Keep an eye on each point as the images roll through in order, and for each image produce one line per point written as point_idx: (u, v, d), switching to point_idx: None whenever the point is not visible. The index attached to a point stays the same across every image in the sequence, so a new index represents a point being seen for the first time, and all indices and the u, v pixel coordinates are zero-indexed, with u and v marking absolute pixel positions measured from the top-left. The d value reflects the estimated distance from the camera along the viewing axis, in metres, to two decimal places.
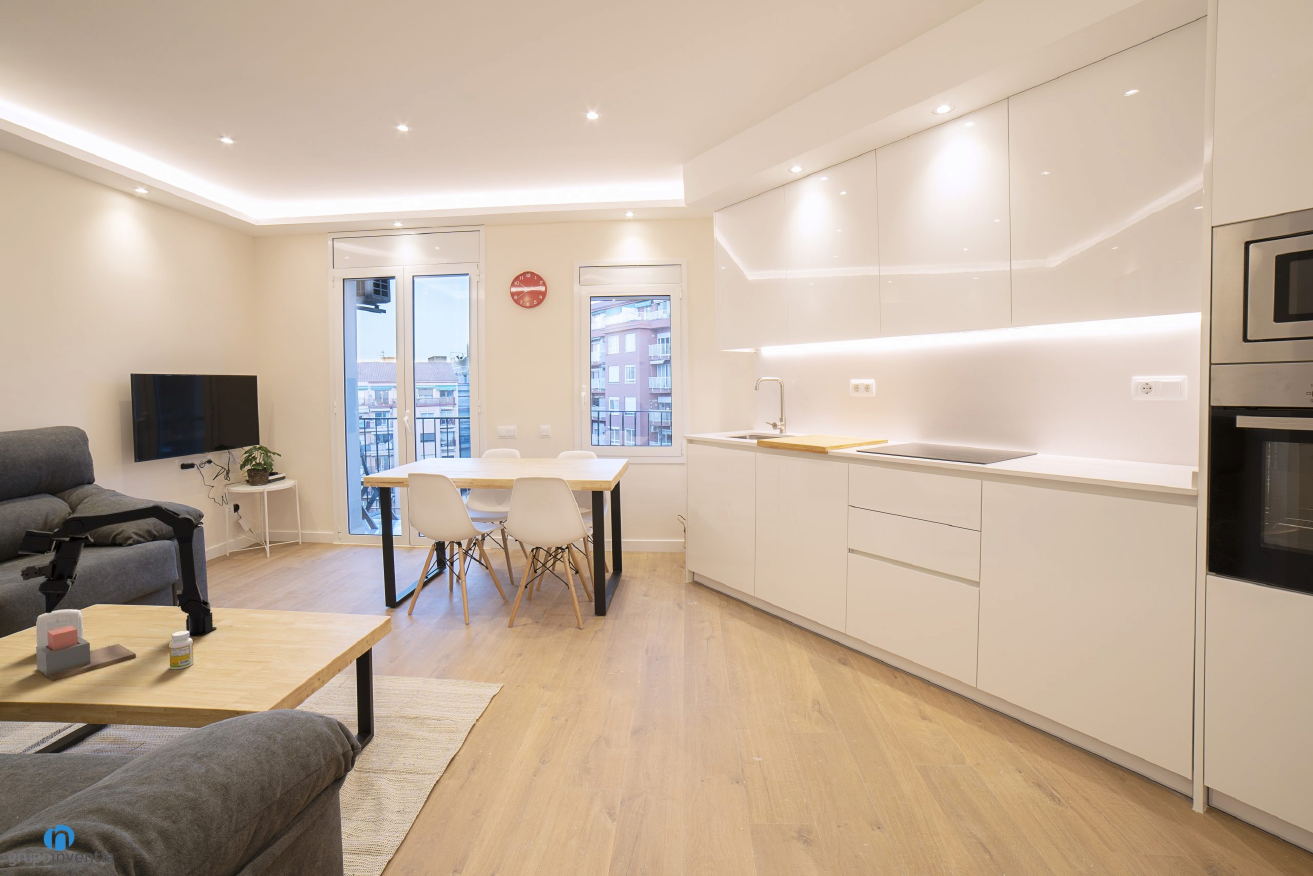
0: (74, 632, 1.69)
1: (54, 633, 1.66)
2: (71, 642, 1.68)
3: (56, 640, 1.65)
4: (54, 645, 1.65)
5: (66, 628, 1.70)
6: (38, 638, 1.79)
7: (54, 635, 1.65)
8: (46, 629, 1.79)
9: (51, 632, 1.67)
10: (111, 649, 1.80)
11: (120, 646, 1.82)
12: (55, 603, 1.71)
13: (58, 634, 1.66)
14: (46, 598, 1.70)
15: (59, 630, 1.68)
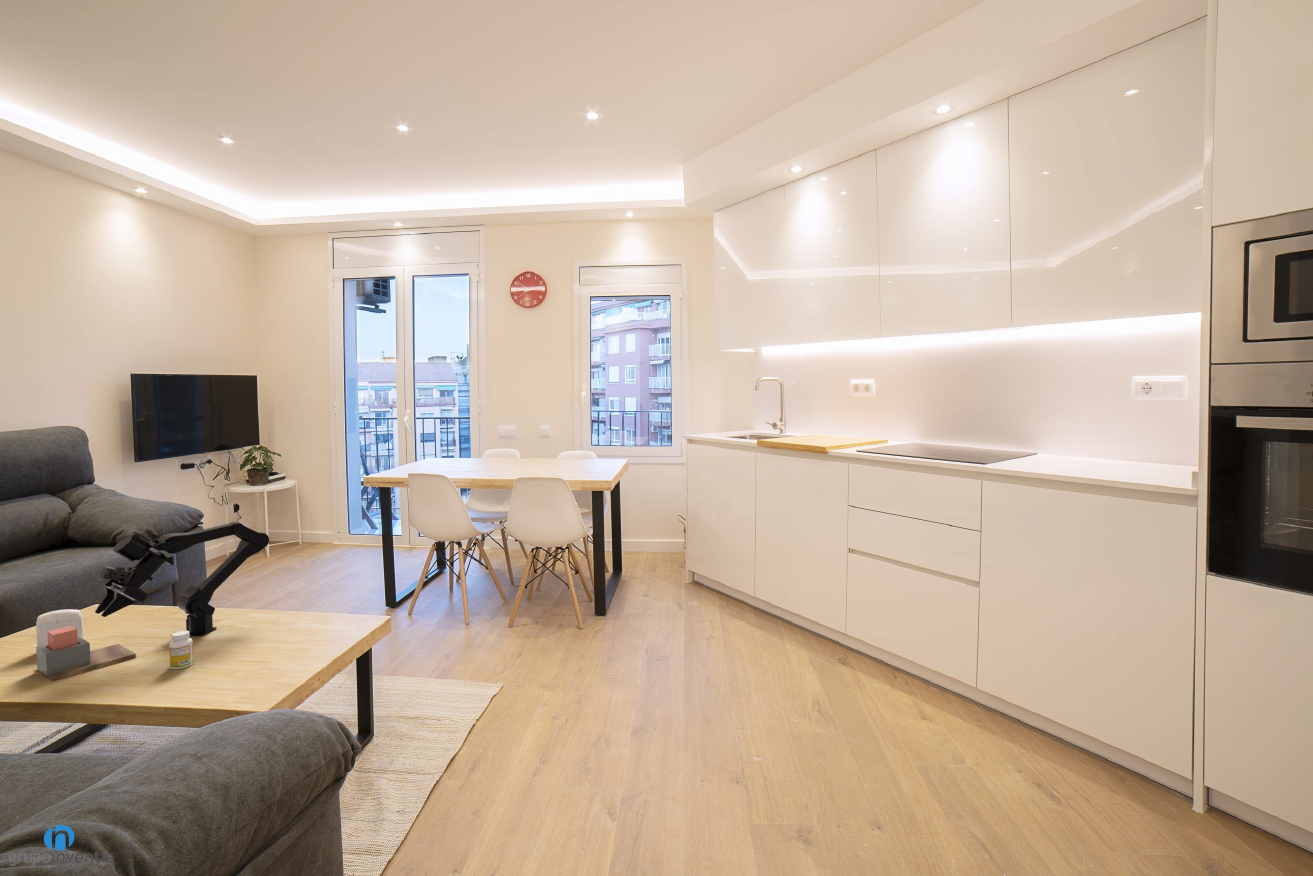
0: (74, 632, 1.69)
1: (54, 633, 1.66)
2: (71, 642, 1.68)
3: (56, 640, 1.65)
4: (54, 645, 1.65)
5: (66, 628, 1.70)
6: (38, 638, 1.79)
7: (54, 635, 1.65)
8: (46, 629, 1.79)
9: (51, 632, 1.67)
10: (111, 649, 1.80)
11: (120, 646, 1.82)
12: (116, 609, 1.76)
13: (58, 634, 1.66)
14: (114, 601, 1.75)
15: (59, 630, 1.68)
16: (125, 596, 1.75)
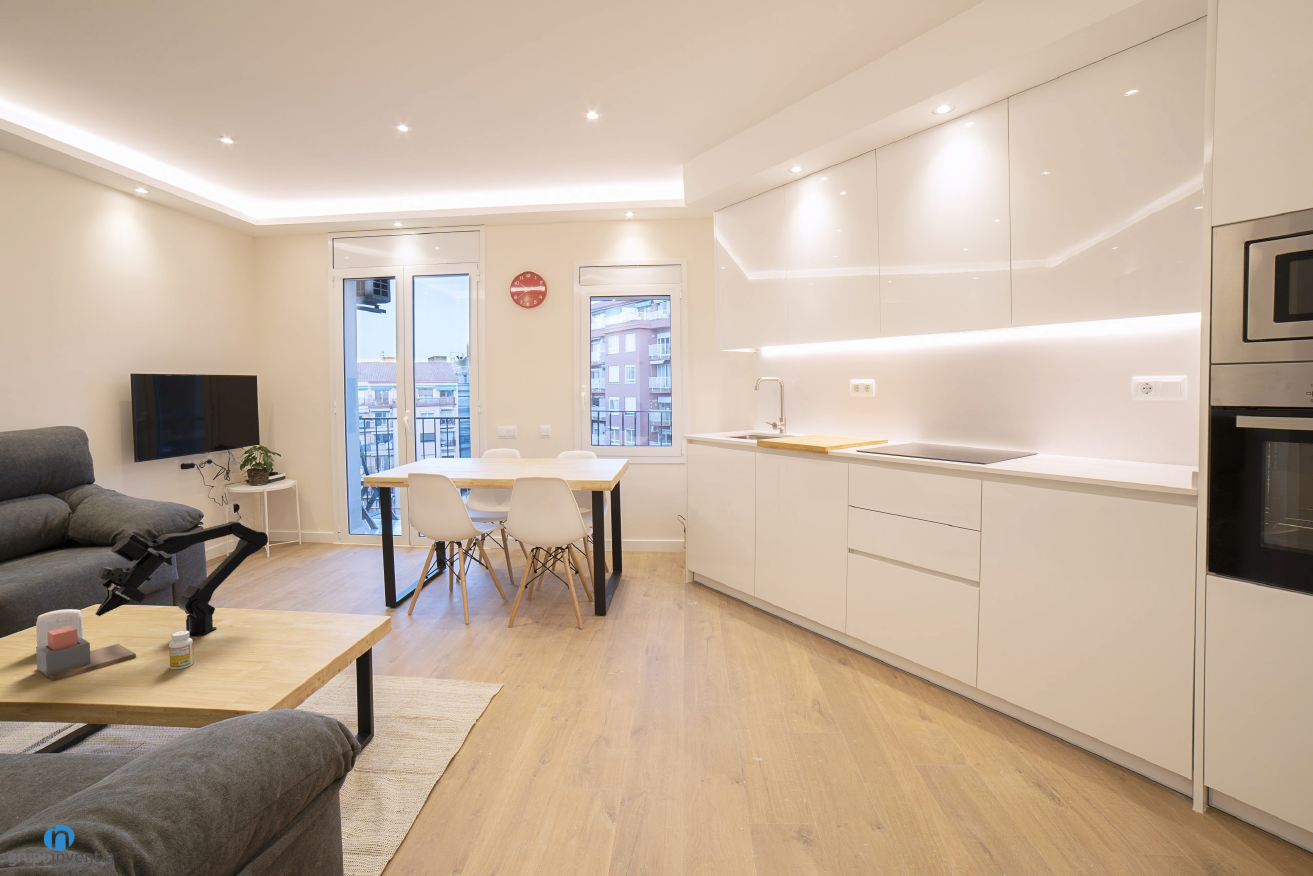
0: (74, 632, 1.69)
1: (54, 633, 1.66)
2: (71, 642, 1.68)
3: (56, 640, 1.65)
4: (54, 645, 1.65)
5: (66, 628, 1.70)
6: (38, 638, 1.79)
7: (54, 635, 1.65)
8: (46, 629, 1.79)
9: (51, 632, 1.67)
10: (111, 649, 1.80)
11: (120, 646, 1.82)
12: (111, 608, 1.76)
13: (58, 634, 1.66)
14: (109, 600, 1.75)
15: (59, 630, 1.68)
16: (120, 595, 1.76)
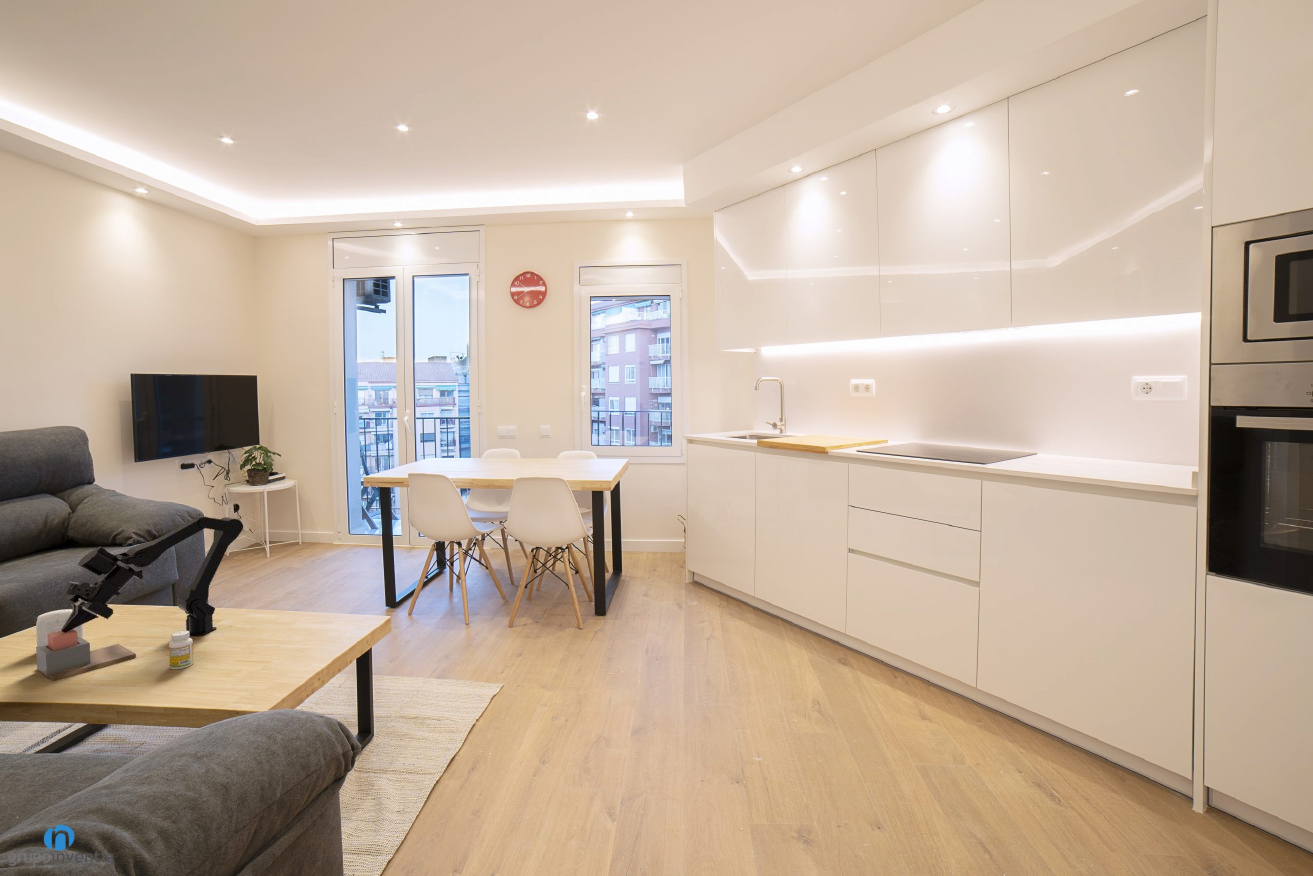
0: (74, 635, 1.69)
1: (54, 636, 1.66)
2: (71, 645, 1.68)
3: (56, 642, 1.65)
4: (54, 648, 1.65)
5: None
6: (38, 638, 1.79)
7: (54, 638, 1.65)
8: (46, 629, 1.79)
9: (51, 635, 1.67)
10: (111, 649, 1.80)
11: (120, 646, 1.82)
12: (77, 624, 1.70)
13: (58, 637, 1.66)
14: (75, 616, 1.69)
15: (59, 633, 1.68)
16: (87, 611, 1.70)
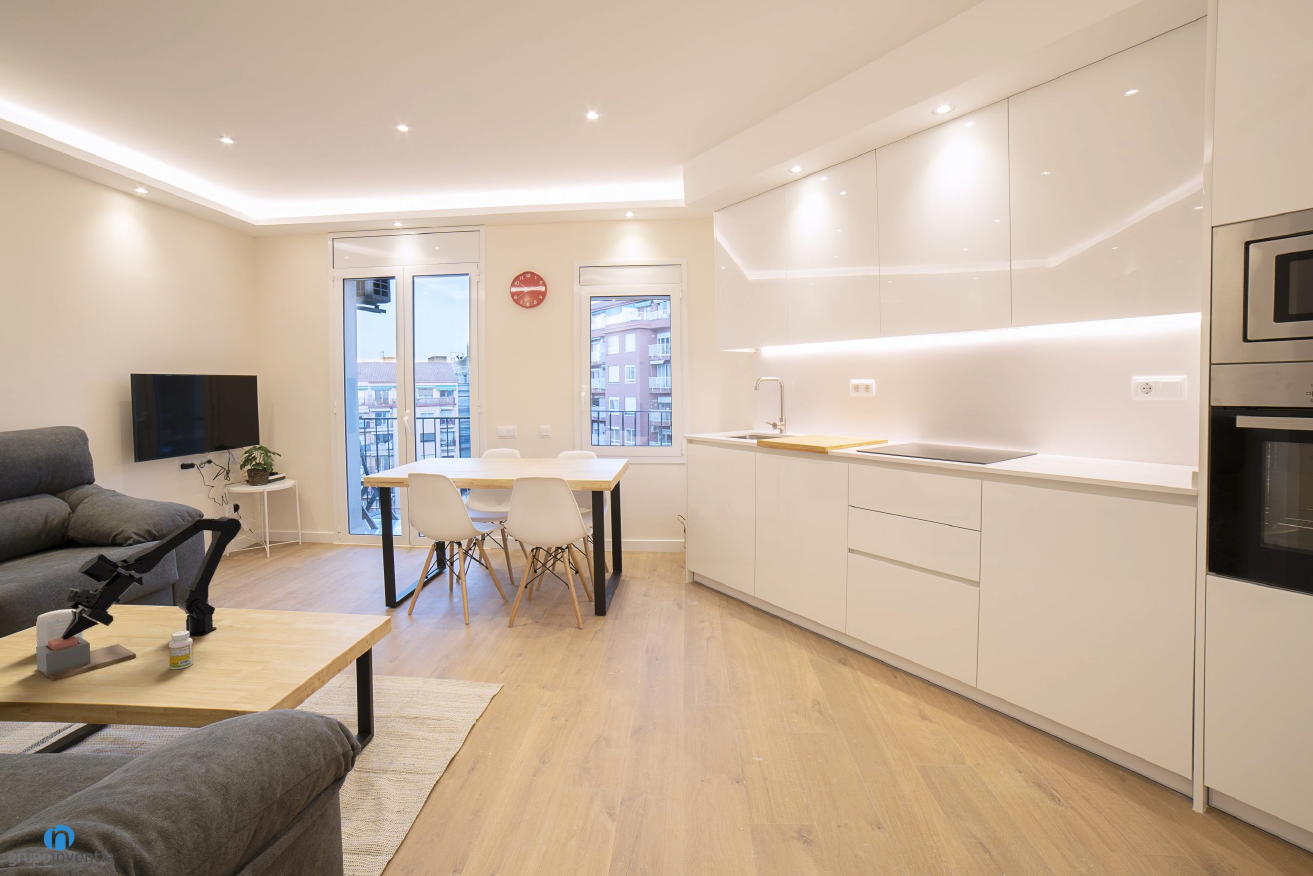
0: (74, 642, 1.69)
1: (55, 643, 1.66)
2: None
3: None
4: None
5: None
6: (38, 638, 1.79)
7: (54, 645, 1.65)
8: (46, 629, 1.79)
9: (51, 642, 1.67)
10: (111, 649, 1.80)
11: (120, 646, 1.82)
12: (77, 631, 1.70)
13: (58, 644, 1.66)
14: (76, 623, 1.69)
15: (59, 640, 1.68)
16: (87, 618, 1.70)
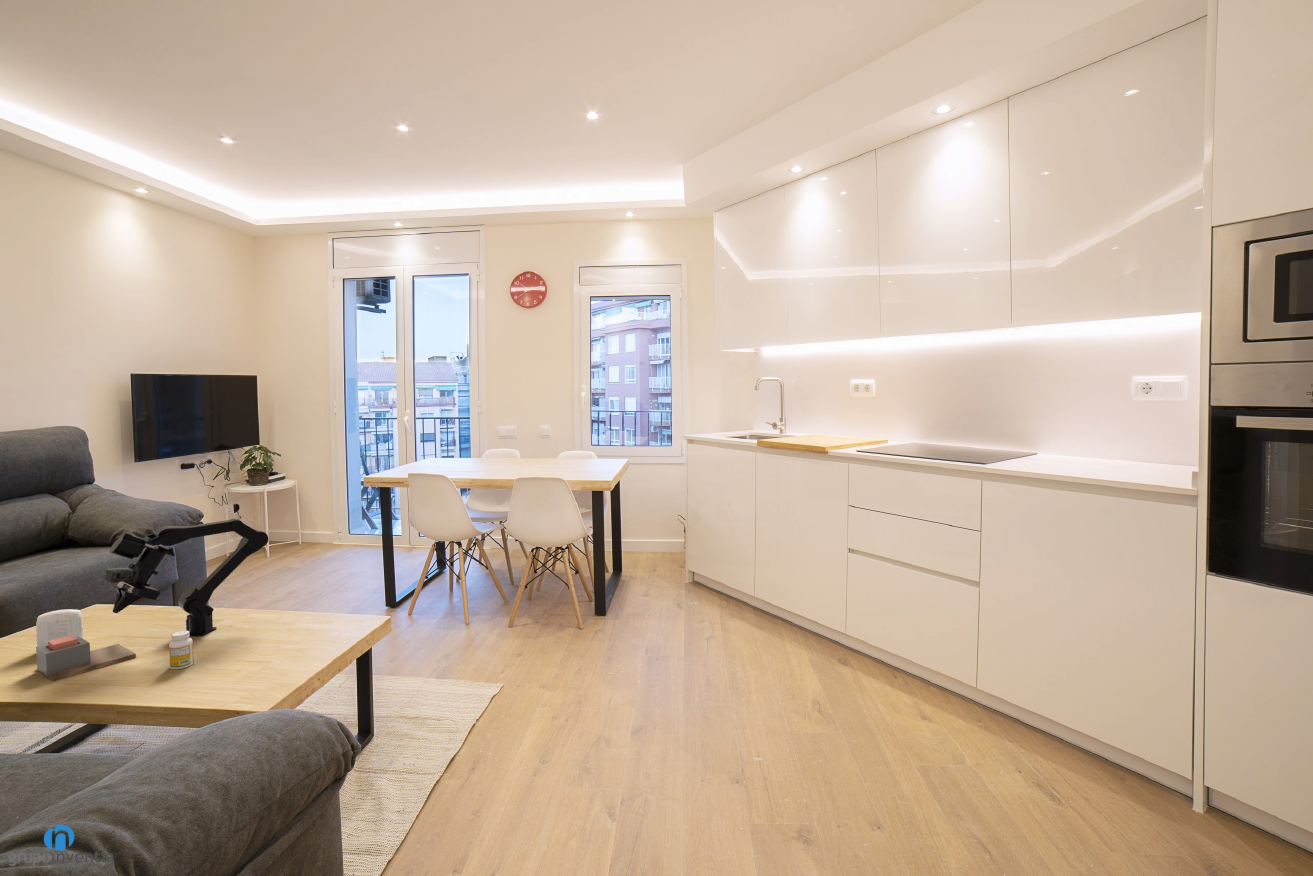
0: (74, 642, 1.69)
1: (55, 643, 1.66)
2: None
3: None
4: None
5: (66, 638, 1.70)
6: (38, 638, 1.79)
7: (54, 645, 1.65)
8: (46, 629, 1.79)
9: (52, 642, 1.67)
10: (111, 649, 1.80)
11: (120, 646, 1.82)
12: (126, 604, 1.82)
13: (58, 644, 1.66)
14: (123, 599, 1.80)
15: (59, 640, 1.68)
16: (133, 593, 1.81)
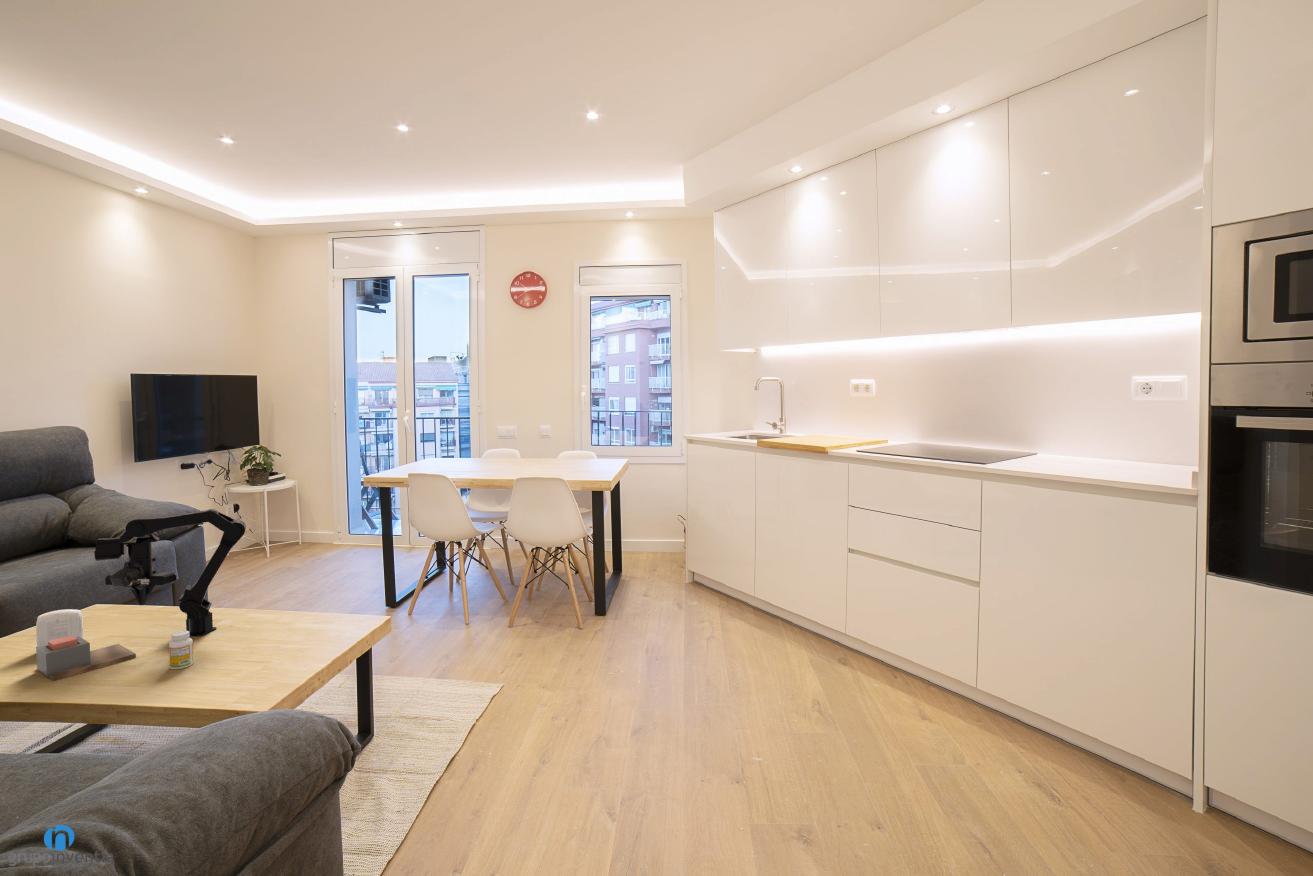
0: (74, 642, 1.69)
1: (55, 643, 1.66)
2: None
3: None
4: None
5: (66, 638, 1.70)
6: (38, 638, 1.79)
7: (54, 645, 1.65)
8: (46, 629, 1.79)
9: (52, 642, 1.67)
10: (111, 649, 1.80)
11: (120, 646, 1.82)
12: (148, 594, 1.89)
13: (58, 644, 1.66)
14: (143, 591, 1.87)
15: (59, 640, 1.68)
16: (150, 584, 1.87)
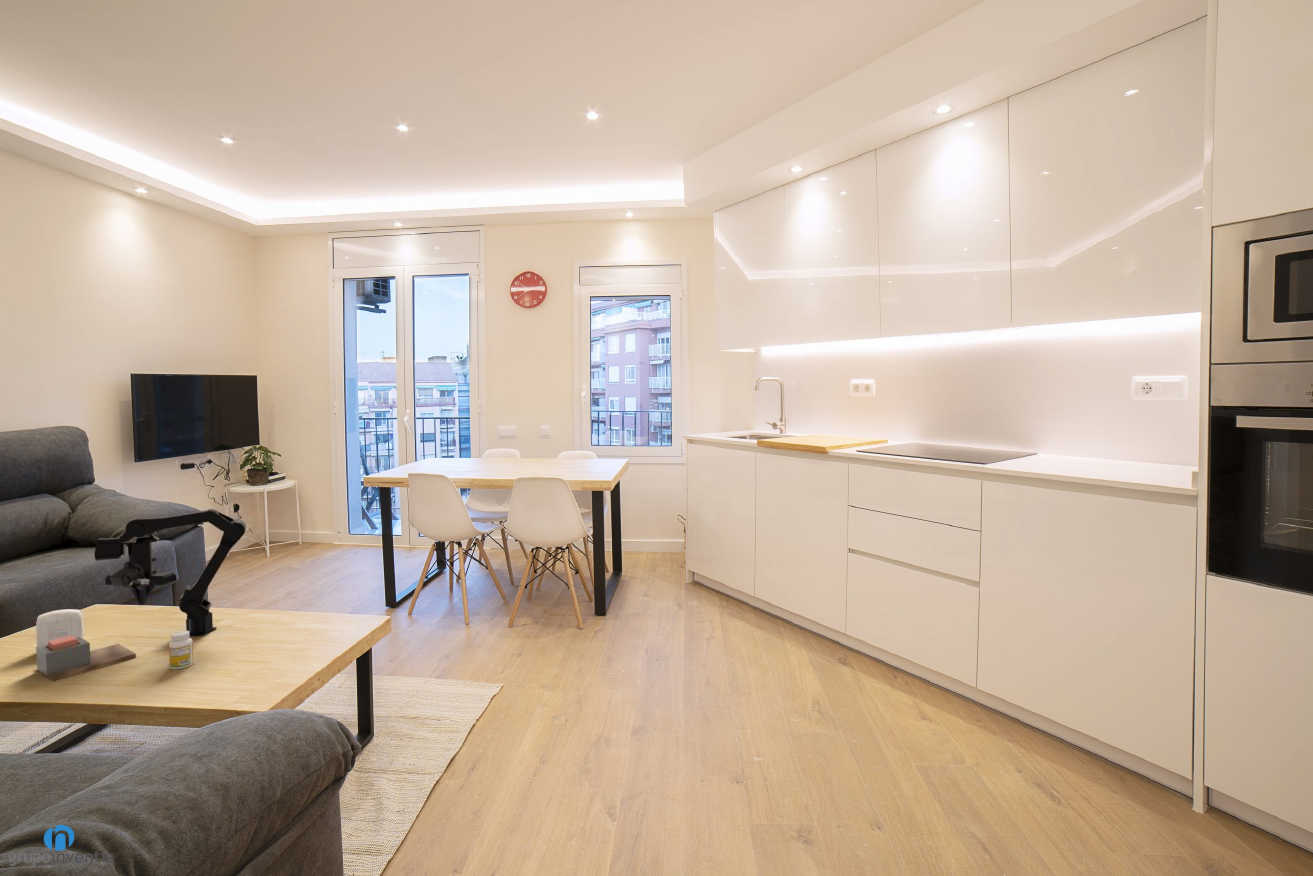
0: (74, 642, 1.69)
1: (55, 643, 1.66)
2: None
3: None
4: None
5: (66, 638, 1.70)
6: (38, 638, 1.79)
7: (54, 645, 1.65)
8: (46, 629, 1.79)
9: (52, 642, 1.67)
10: (111, 649, 1.80)
11: (120, 646, 1.82)
12: (147, 594, 1.89)
13: (58, 644, 1.66)
14: (143, 591, 1.87)
15: (59, 640, 1.68)
16: (150, 584, 1.87)
